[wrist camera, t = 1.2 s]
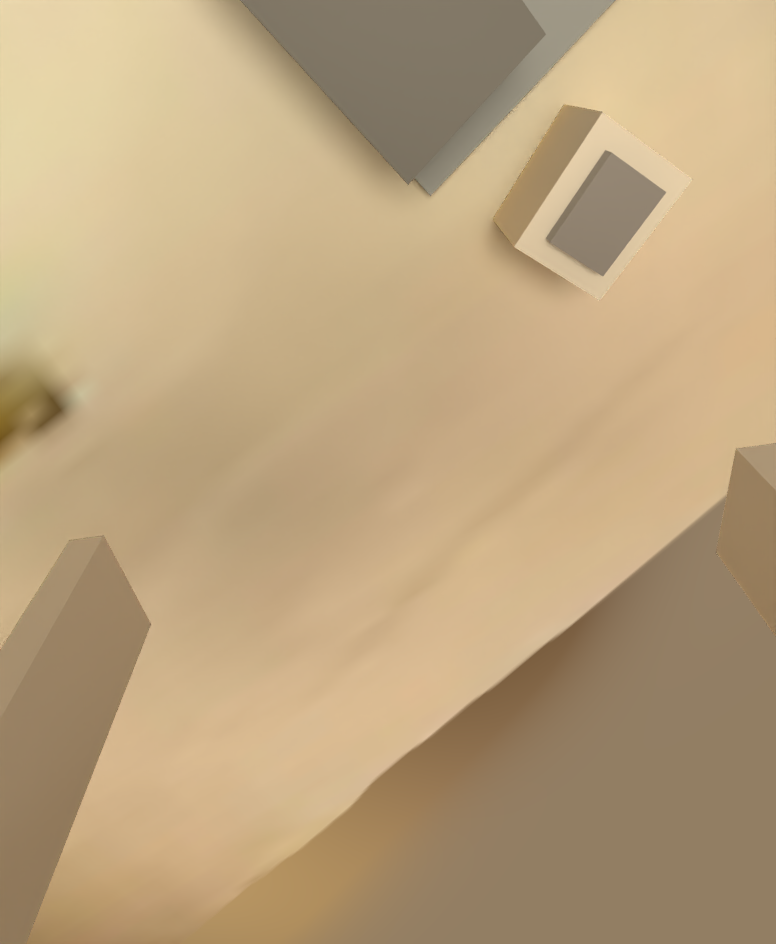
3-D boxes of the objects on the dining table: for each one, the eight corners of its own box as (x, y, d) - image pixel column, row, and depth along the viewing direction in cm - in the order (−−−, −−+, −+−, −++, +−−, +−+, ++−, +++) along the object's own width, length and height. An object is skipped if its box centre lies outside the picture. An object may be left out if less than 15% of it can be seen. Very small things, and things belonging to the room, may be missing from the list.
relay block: (492, 219, 32) (517, 251, 27) (563, 104, 30) (609, 112, 24) (566, 266, 34) (605, 306, 28) (641, 161, 31) (701, 182, 25)
